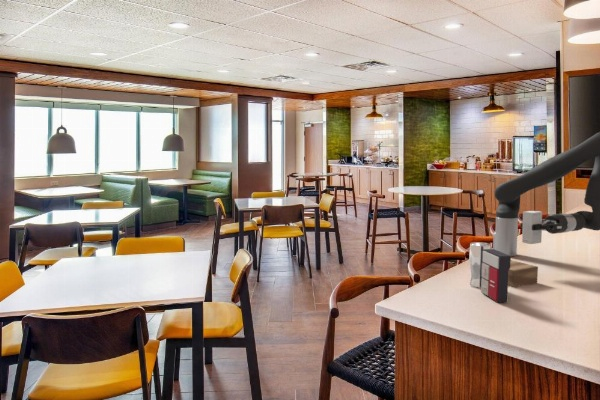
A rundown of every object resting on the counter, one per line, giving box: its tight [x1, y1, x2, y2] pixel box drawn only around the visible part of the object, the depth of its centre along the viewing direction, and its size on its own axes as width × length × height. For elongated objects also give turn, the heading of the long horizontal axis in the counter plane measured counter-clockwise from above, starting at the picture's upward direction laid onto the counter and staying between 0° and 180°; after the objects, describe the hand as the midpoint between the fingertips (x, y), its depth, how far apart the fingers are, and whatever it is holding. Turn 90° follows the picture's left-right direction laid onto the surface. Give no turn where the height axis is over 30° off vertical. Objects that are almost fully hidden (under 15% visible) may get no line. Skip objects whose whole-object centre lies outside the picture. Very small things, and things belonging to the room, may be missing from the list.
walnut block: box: [508, 259, 539, 288], centre depth 168 cm, size 12×12×6 cm
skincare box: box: [521, 210, 543, 245], centre depth 177 cm, size 6×4×12 cm
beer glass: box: [468, 241, 491, 289], centre depth 162 cm, size 7×7×15 cm
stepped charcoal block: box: [480, 248, 512, 304], centre depth 149 cm, size 11×4×15 cm, turn 5°
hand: (527, 226), depth 176 cm, fingers closed on skincare box, 4 cm apart
